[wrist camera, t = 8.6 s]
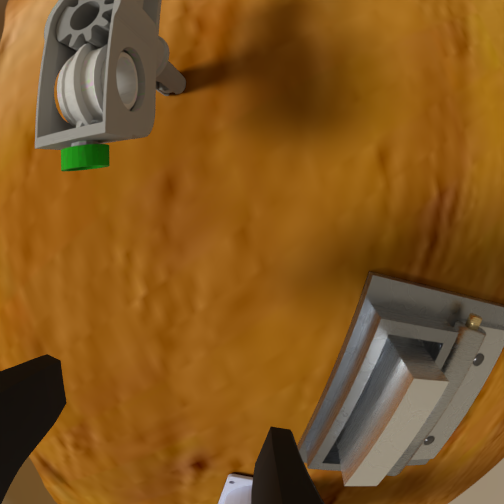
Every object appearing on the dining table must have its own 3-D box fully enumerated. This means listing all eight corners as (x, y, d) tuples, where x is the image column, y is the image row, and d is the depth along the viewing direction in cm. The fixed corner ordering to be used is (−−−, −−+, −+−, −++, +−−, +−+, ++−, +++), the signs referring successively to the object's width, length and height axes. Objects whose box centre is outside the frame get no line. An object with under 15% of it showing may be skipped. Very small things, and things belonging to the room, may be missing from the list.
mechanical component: (199, 11, 15) (142, -93, 5) (198, 168, 17) (109, 161, 7) (153, 19, 15) (74, -67, 5) (149, 172, 17) (31, 175, 8)
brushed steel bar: (364, 437, 20) (377, 485, 15) (335, 435, 20) (344, 486, 15) (417, 338, 18) (450, 381, 13) (385, 332, 18) (413, 378, 13)
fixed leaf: (423, 458, 21) (432, 482, 18) (293, 454, 22) (293, 483, 18) (510, 306, 17) (534, 323, 14) (369, 270, 18) (386, 289, 15)
